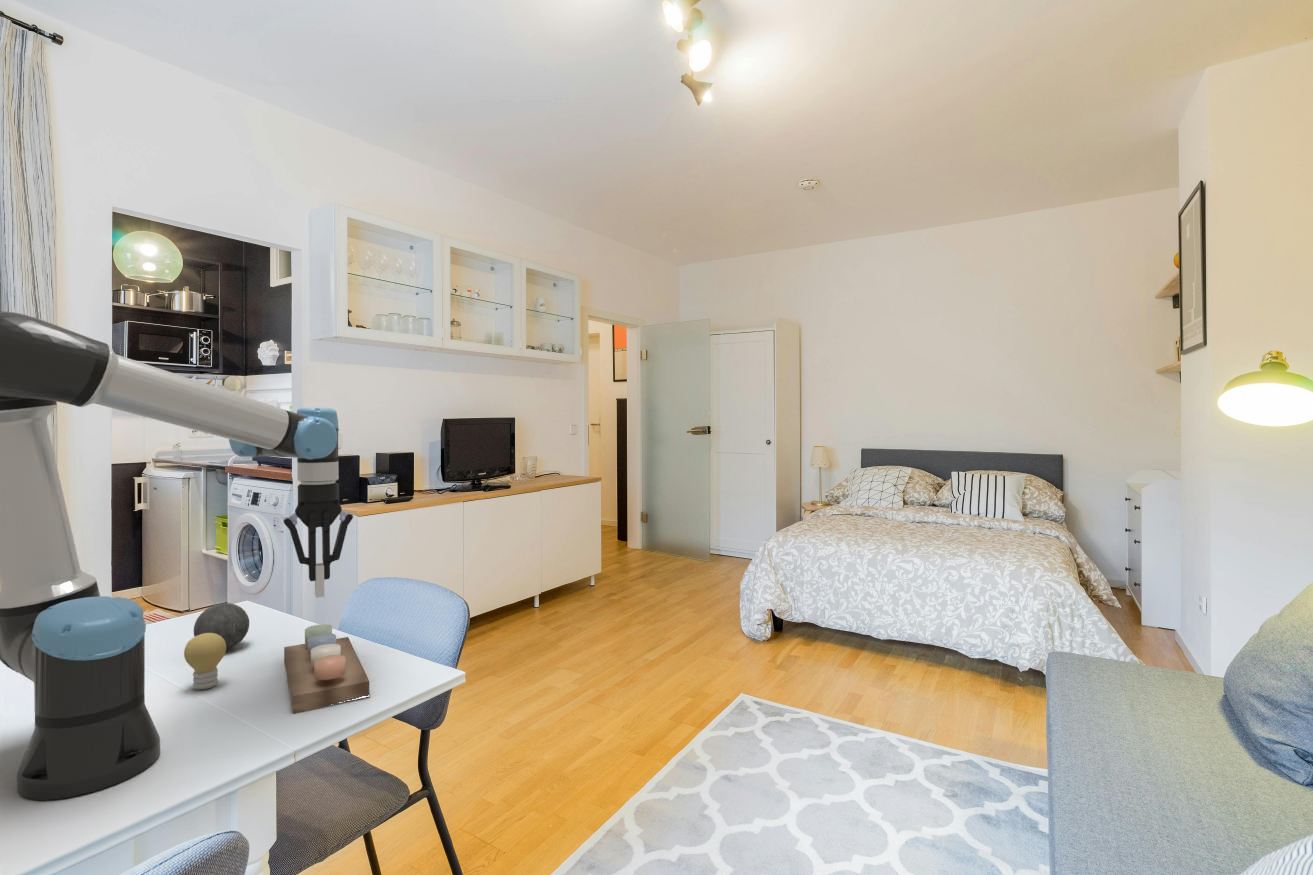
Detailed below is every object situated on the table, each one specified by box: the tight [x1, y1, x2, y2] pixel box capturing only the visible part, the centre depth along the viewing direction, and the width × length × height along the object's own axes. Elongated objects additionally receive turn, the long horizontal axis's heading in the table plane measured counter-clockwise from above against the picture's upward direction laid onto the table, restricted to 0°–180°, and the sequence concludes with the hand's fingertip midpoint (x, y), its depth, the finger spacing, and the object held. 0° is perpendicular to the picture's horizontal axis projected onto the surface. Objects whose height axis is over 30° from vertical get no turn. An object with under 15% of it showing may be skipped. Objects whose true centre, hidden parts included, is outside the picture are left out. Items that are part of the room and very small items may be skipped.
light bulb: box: [183, 633, 227, 691], centre depth 118 cm, size 6×6×10 cm
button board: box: [283, 636, 370, 714], centre depth 123 cm, size 12×28×3 cm, turn 33°
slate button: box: [308, 633, 337, 655], centre depth 126 cm, size 5×5×3 cm
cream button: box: [311, 644, 341, 666], centre depth 120 cm, size 5×5×3 cm
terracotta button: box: [314, 655, 345, 680], centre depth 114 cm, size 5×5×3 cm
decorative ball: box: [193, 602, 250, 651], centre depth 138 cm, size 10×10×10 cm
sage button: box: [304, 623, 333, 644], centre depth 131 cm, size 5×5×3 cm
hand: (319, 595), depth 131 cm, fingers closed
